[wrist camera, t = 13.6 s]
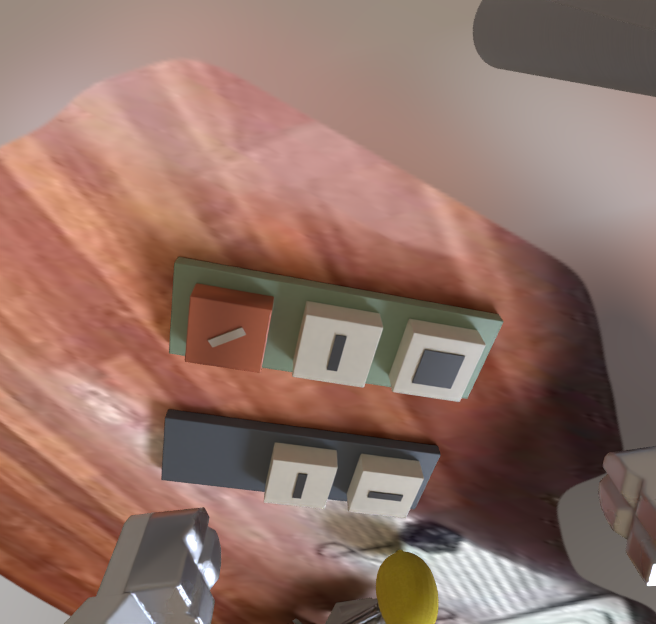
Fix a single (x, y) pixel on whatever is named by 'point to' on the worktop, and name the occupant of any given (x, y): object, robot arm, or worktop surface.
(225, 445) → the strip
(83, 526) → the worktop surface
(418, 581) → the lemon
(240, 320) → the brown flat square block
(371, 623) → the spaceship
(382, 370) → the green word strip
